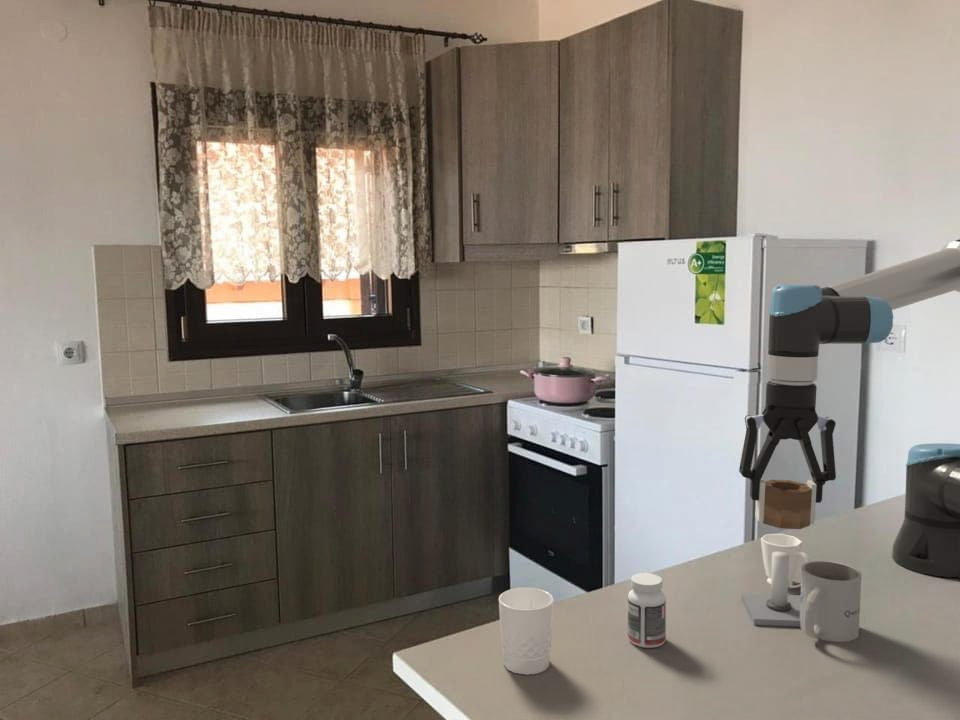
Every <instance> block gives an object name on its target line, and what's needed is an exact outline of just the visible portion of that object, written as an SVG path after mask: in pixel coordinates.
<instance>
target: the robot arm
mask: <svg viewBox="0 0 960 720" xmlns="http://www.w3.org/2000/svg"><path fill="white" fill-rule="evenodd" d="M954 291H955V292H958V293H960V238H959V239H956V240H953V241H950V242H947V243H946V244H945V245H944V246H943V247H942V248H941V250H940V251H937V252H934V253H931V254H930V253H929V254H927V255H924V256H921V257H918V258H914V259H911V260H907V261H905V262H901V263H898V264H895V265H891V266H889V267H885V268H882V269H880V270H875V271H873V272H870V273H866V274H863V275H860V276H856V277H853V278H850V279H847V280H844V281H841V282H838V283H834V284H831V285H829V286H828V285H827V286H825V287H821V286H819V285H817V284H816V285H815V284H777V285H776V286H774V287H773V288H772V290H771V296H770V301H769V302H770V303H769V311H768V315H769V320H768V321H769V322H768V343H767V344H768V350H767V353H768V355H767V367H766V377H767V378H768V379H769V381H767V383H766V387H765V406H764V409H763V411H762V413H761V414H757V415H752V416H751V415H749V414H747V415H745V417H744V423H745V429H746V431H745V436H744V440H743V446H742V452H741V458H740V463H739V467H738V468H739V469H738V471H739V473H740V475H741V476H742V477H743V478H747V479H749V480H750V484H749V485H750V487H749V496H750V498H751V500H752V501H755V513H754V514H755V516H754V517H755V519H756V520H757V521H758V523H759V522H760V523H763V522H764V503H765V480H764V479H763V475H764V473H765V471H766V469H767V468H768V465H769V463H770V460H771V458H772V456H773V454H774V452H775V450H776V448H777V446H778V445H779V443H780V441H781V440H784V441H785V440H789V439H791V440H795V441H798V443H799V445H800V448H801V449H802V453H803V456H804V458H805V461H806V463H807V467H808V469H809V472H810V476H811V478H812V479H807V480H806V484H807V485H808V486H809V487H810V488H811V489H812V499H811V517H810V525H815V521H816V520H815V519H816V506H817V505H816V504H817V503H819V504H821V503H822V501H823V490H824V489H823V487H824V485H825V484H826V482H829V481H835V480H836V478H837V473H836V462H835V450H834V449H835V447H834V438H833V437H834V436H833V434H834V431H835V428H836V424H837V423H836V421H835V420H834V419H832V418H830V417H829V416H825V417H823V416H818V415H819V414H817V410H816V406H817V405H816V404H817V387H818V386H817V385H816V383H814V382H816V381H817V380H818V372H819V371H818V363H819V351H820V345H827V344H833V345H834V344H836V345H837V344H838V345H839V344H840V345H841V344H843V345H844V344H845V345H847V344H850V345H851V344H853V345H858V344H862V345H867V344H878V343H881V342H883V341H884V340H886V339H888V337H889V336H890V334H891V332H892V330H893V326H894V324H893V323H894V313H893V311H894V310H897V309H900V308H903V307H906V306H910V305H912V304H913V305H914V304H916V303H919V302H922V301H925V300H928V299H931V298H932V299H933V298H935V297H938V296H942V295H944V294H947V293H951V292H954ZM762 423H764V424H765V425H766V427H767V428H768V432H767V433H766V437H765V441H764V443H763V445H762V447H761V449H760V452H759V454H758V456H757V458H756V461H755V462H754V465H753V467H752V464H753V458H754V452H755V449H756V448H755V447H756V443H757V438H758V437H757V436H758V430H759V429H760V428H761V425H762ZM816 424H817V428H818V430H820V433H819V434H820V445H821V456H822V457H821V459H822V469H823V471H821V467H820V464H819V461H818V459H817V456H816V453H815V450H814V447H813V445H812V440H811V437H810V434H809V432H810V431H811V430H812V428H814V427H815V425H816ZM905 467H906V469H905V470H906V472H905V495H904V496H905V499H904V519H903V522H902V524H901V527H900V528H899V531H898V533H897V535H896V537H895V539H894V542H893V545H892V553H891V554H892V556H891V557H892V559H893V560H894V562H895V563H897V564H898V565H899V566H902V567H903V568H906V569H908V570H910V571H915V572H917V573H922V574H925V575H929V574H930V575H931V576H934V575H935V577H941V576H943V578H952V577H960V443H946V442H945V443H941V442H940V443H938V442H936V443H934V442H933V443H921V444H916V445H914V446H912V447H910V449H909V450H908V454H907V462H906V464H905ZM751 468H752V469H751ZM930 575H929V576H930Z"/></svg>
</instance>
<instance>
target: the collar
mask: <svg viewBox="0 0 960 720" xmlns="http://www.w3.org/2000/svg"><path fill="white" fill-rule="evenodd" d="M764 482H765V503H764V522H762V523H763V525H768V526H770V527H774V528H776V529H777V528H778V529H783V530H784V529H788V530H801V529H805V528H807V527H810V526H811V524H810V517H811V499H812V489H811V488H810V487H809V486H808V485H807V483H803V482H798V481H794V480H787V479H769V480H764Z"/></svg>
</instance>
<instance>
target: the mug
mask: <svg viewBox="0 0 960 720" xmlns="http://www.w3.org/2000/svg"><path fill="white" fill-rule="evenodd" d="M800 571H801V573H800V574H801V575H800V576H801V577H800V584H801V586H800V627H799V628H800V630H802V632H804V633H805V634H806V635H807V636H808V637H809V638H812V639H813V638H814V639H819V640H823V641H826V642H827V641H828V642H837V643H841V642H843V643H844V642H851V641H854V640H856V639H857V638H858V637H859V631H860V615H861V613H860V611H861V610H860V609H861V595H862V593H861V592H862V576H863V575H862V573H861V572H860V571H859V569H857V568H855V567H854V566H851V565H849V564H845V563H842V562H836V561H832V560H831V561H830V560H810V562H807V563H806V562H805V563H803V564H802V565H801V570H800Z"/></svg>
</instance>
